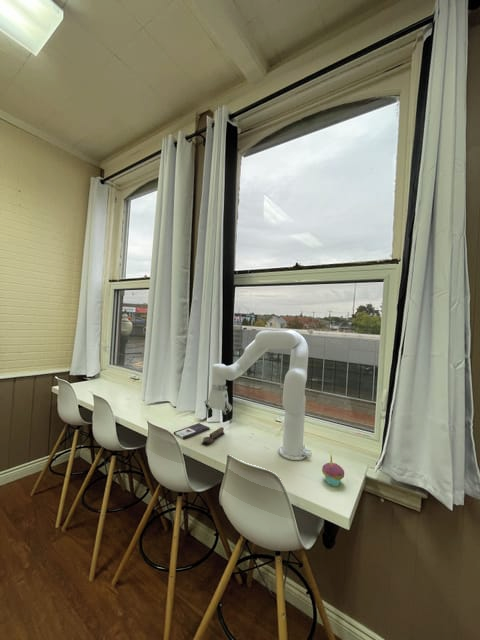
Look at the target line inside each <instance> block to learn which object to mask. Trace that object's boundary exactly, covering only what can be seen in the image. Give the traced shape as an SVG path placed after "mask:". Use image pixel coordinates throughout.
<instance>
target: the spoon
mask: <svg viewBox="0 0 480 640" xmlns="http://www.w3.org/2000/svg"><path fill="white" fill-rule="evenodd" d="M224 429H225V427H222V426H221V427H219V428H217V429H216V430H214V431H212V432H210V433H209V436H205V437H203V440H202V442H205V443H210V444H212V443H213V442H214V441H213V439H214V438H215V437H217V436H219V435H220V434H222V433H223V432H224ZM224 433H225V432H224ZM212 441H213V442H212ZM211 442H212V443H211Z"/></svg>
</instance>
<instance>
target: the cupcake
mask: <svg viewBox="0 0 480 640" xmlns="http://www.w3.org/2000/svg"><path fill="white" fill-rule="evenodd" d="M329 457H330V458H329V460H330V462H327V463H324V464H323V465H322V469H321V471H322V474H323V475H324V477H325V482H326V483H327V484H328V485H330V486H332V487H337V486H339V485H340V482H341V481H342V479H344V478H345V470H344V469H343V468H342V466H340V465H339V464H337V463H335V462H333V456H332V454H330V455H329Z"/></svg>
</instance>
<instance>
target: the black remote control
mask: <svg viewBox="0 0 480 640" xmlns="http://www.w3.org/2000/svg"><path fill="white" fill-rule="evenodd" d="M224 435H225V432H223V433H222V434H220V435H219V436H217V437H215V438H214V439H213V441H212V442H211V443H205V442H203V441H202V442H201V445H203V446H206V447H207V446H209V445H211V444H212V443H214V441H216V440H218V439H219V438H221V437H223V436H224Z"/></svg>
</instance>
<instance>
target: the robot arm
mask: <svg viewBox="0 0 480 640" xmlns="http://www.w3.org/2000/svg"><path fill="white" fill-rule="evenodd" d="M269 350H290V356H289V367H288V371H287V372H286V373H285V375H284V380H283V391H282V400H281V401H282V402H281V403H282V408H283V410H284V417H283V419H284V420H283V421H284V422H283V437H282V446H281V447H280V448H279V454H280V456H281V457H283V458H284V459H288V460H290V461H291V460H292V461H301V460H304V459H305V458H306V456H307V457H310V458H311V457H312V454H313V453H312V452H311V449H308V448H306V445H305V444H304V436H305V433H304V432H305V418H306V417H305V416H306V406H307V405H306V403H307V398H306V397H307V396H306V394H305V393H306V383H307V380H308V366H309V365H308V364H309V345H308V342H307V340H306V339H305V338H304V336H302V334H300V333H299V332H297V331H295V330H294V329H293V330H292V329H289V330H267V329H266V330H260V331H258V332H257V333H256V334H255V337H254V340H253V339H252V341H251V342H250V343H249V344H248V345H247V346H246V347H245V348H244V350H243V353H242V355H241V356H240V357H239V358H238V359H237V360H236V361H235V362H233V363H232V364H230V365H226V364H224V363H213V365H212V367H211V389H210V390H209V395H208V398H207V399H206V400H204V405H205V408H206V410H207V419H211V418H212V417H213V412H214V411H213V409H215V410H219V411H222V413H223V415H222V422H223V423H225V422H227V421H228V419H229V418H228V417H229V413H230V412H231V411H232V409H233V405H232V404H231V403H230V402H229V395H228V390H227V389H228V386H227V385H226V384H227V381H234V380H236V379H237V378H239V377H241V376H242V375H243V374H244V373H246V372H247V371H248V370H249V369H250V368H251V367H252V366H253V365H254V364H255V363H256V362H257V361H258V360H259V359H260V358H261V357H262V356H263V355H264V354H265V353H266V352H267V351H269Z"/></svg>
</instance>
